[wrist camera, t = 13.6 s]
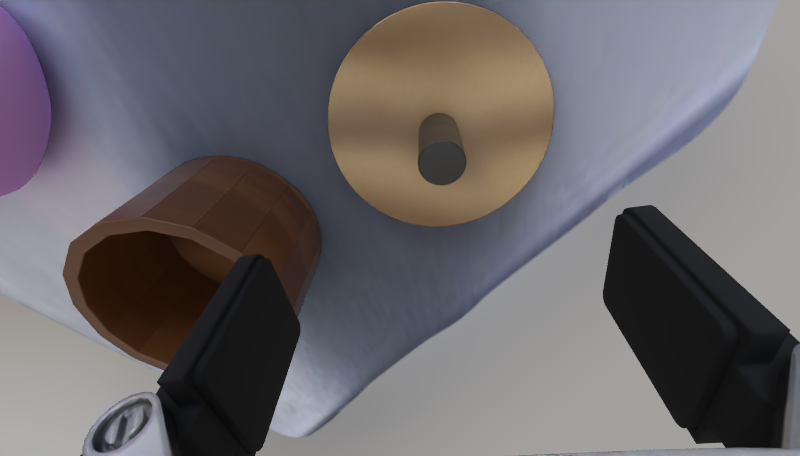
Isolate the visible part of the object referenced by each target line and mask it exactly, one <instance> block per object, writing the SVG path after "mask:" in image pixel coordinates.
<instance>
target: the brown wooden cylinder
mask: <svg viewBox="0 0 800 456" xmlns="http://www.w3.org/2000/svg"><path fill="white" fill-rule="evenodd" d="M320 252H321V233H320V229H319V225H318V222H317V220H316V217H315V215H314V213H313V211H312V209H311V208H310V206H309V204H308V203H307V202H306V200H305V199H304V198H303V196H302V195H301V194H300V193H299V192H298V191H297V190H296V189H295V188H294V187H293V186H292V185H291V184H290V183H288V182H287V181H286V180H285V179H283V178H282V177H280V176H279V175H277V174H276V173H275V172H273V171H271V170H269V169H267V168H265V167H263V166H261V165H258V164H256V163H253V162H251V161H247V160H244V159H240V158H234V157H228V156H209V157H202V158H198V159H194V160H191V161H189V162H184V163H182V164H181V165H179V166H178V167H176V168H175V169H174V170H172V171H171V172H169V173H168V174H166V175H165V176H164V177H162V178H161V179H159V180H158V181H156V182H155V183H153V184H152V185H151V186H149V187H148V188H146V189H145V190H143V191H142V192H141V193H139V194H138V195H136V196H135V197H133V198H132V199H131V200H129V201H128V202H126V203H125V204H123V205H122V206H120V207H119V208H118V209H116V210H115V211H113V212H112V213H110V214H109V215H108V216H106V217H105V218H103V219H102V220H100V221H99V222H97V223H96V224H95V225H93V226H92V227H91V228H89V229H88V230H87V231H85V232H84V233H83V234H81V235H80V236H79V237H77V238H76V239H75V240H73V241H72V242H71V243H70V245H69V249H68V253H67V257H66V261H65V265H64V269H63V277H64V280H65V283H66V285H67V288H68V291H69V294H70V297H71V299H72V302H73V305H75V307H76V308H77V310H78V311H79V312H80V313H81V314H82V315H83V317H84V318H85V319H86V320H87V321H88V322H89V323H90V325H91V326H92V327H93V328H94V329H95V330H96V331H97V333H98V334H100V336H102V337H103V338H105V339H106V340H108V341H109V342H111V343H112V344H114V345H115V346H116V347H118V348H119V349H121V350H122V351H124V352H125V353H127V354H128V355H130V356H131V357H134V358H135V359H138V360H140V361H142V362H145V363H147V364H150V365H152V366H155V367H157V368H160V369H162V370H165V369H166V367H167V366H168V364H169V363H170V361H171V360H172V358H173V357H174V355H175V354H176V352H177V351H178V349H179V348H180V346H181V344H182V343H183V341H184V340H185V338H186V337H187V335H188V334H189V332H190V331H191V329H192V328H193V326H194V325H195V323H196V322H197V320H198V319H199V317H200V315H201V314H202V312H203V311H204V309H205V308H206V306H207V305H208V303H209V302H210V300H211V299H212V297H213V296H214V294H215V293H216V291H217V290H218V288H219V286H220V285H221V283H222V282H223V280H224V279H225V277H226V276H227V274H228V273H229V271H230V270H231V268H232V267H233V265H234V264H235V262H236V261H237V259H238V258H239V257H241V256H246V255H254V254H262V255H263V256H264V257H265V258H269V259H270V260H271V262H272V264H273V266H274V268H275V270H276V273H277V275H278V277H279V279H280V281H281V283H282V286H283V288H284V290H285V292H286V294H287V296H288V299H289V301H290V303H291V305H292V307H293V309H294V312H295V314H296V316H297V318H298V315H299V313H300V310H301V307H302V305H303V302H304V300H305V297H306V295H307V292H308V289H309V287H310V284H311V282H312V279H313V276H314V274H315V271H316V269H317V266H318V261H319V256H320Z"/></svg>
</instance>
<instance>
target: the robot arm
mask: <svg viewBox="0 0 800 456" xmlns="http://www.w3.org/2000/svg"><path fill="white" fill-rule="evenodd" d="M603 299H604V303H605V305H606V307H607V309H608V310H609V312H610V313H611V315H612V317H613V319H614V320H615V322H616V324H617V325H618V327H619V329H620V330H621V332H622V334H623V335H624V337H625V339H626V340H627V342H628V344H629V345H630V347H631V349H632V350H633V352H634V354H635V355H636V357H637V359H638V360H639V362H640V364H641V365H642V367H643V368H644V370H645V372H646V374H647V375H648V377H649V379H650V380H651V382H652V384H653V385H654V387H655V389H656V390H657V392H658V394H659V395H660V397H661V398H662V400H663V402H664V404H665V405H666V407H667V408H668V410H669V412H670V414H671V415H672V417H673V419H674V420H675V422H676V423H677V424H678V425H679V426H680V427H682V428H687V429H688V431H689V432H690V434H691V436H692V437H693V439H694V441H695V442H696V444H701V443H721V442H722V443H723V445H724V446H725V447H726V448H706V449H666V450H636V451H615V452H614V451H613V452H590V453H569V454H544V455H520V456H800V342H799V341H797V340H796V339H795V338H794V337H793V336H792V335H791V334H790V333H789V332H790V329H788V328H787V327H786V326H785V325H784V324H783V323H782V322H781V321H780V320H779V319H777V318H776V317H775V316H774V315H773V314H772V313H771V312H770V311H769V310H768V309H766V308H765V307H764V306H763V305H762V304H761V303H760V302H759V301H758V300H757V299H755V298H754V297H753V296H752V295H751V294H750V293H749V292H748V291H747V290H746V289H745V288H743V287H742V286H741V285H740V284H739V283H738V282H737V281H736V280H735V279H733V278H732V277H731V276H730V275H729V274H728V273H727V272H726V271H725V270H724V269H723V268H721V267H720V266H719V265H718V264H717V263H716V262H715V261H714V260H713V259H712V258H710V257H709V256H708V255H707V254H706V253H705V252H704V251H703V250H701V248H700V247H698V246H697V245H696V244H695V243H694V242H693V241H692V240H691V239H690V238H688V237H687V236H686V235H685V234H684V233H683V232H682V231H681V230H680V229H678V228H677V227H676V226H675V225H674V224H673V223H672V222H671V221H670V220H669V219H668V218H667V217H665V216H664V215H663V214H662V213H661V212H660V211H659V210H658V209H657V208H656V207H654V206H652V205H647V206H640V207H631V208H626V209H624V211H623V213H622V214H621V215H618V216H617V217H616V220H615V224H614V230H613V236H612V242H611V248H610V254H609V259H608V265H607V272H606V277H605V283H604V289H603ZM300 330H301V329H300V323H299V320H298V318H297V316H296V314H295V312H294V309H293V307H292V305H291V303H290V301H289V299H288V296H287V294H286V292H285V290H284V288H283V286H282V283H281V281H280V279H279V277H278V275H277V273H276V270H275V268H274V266H273V264H272V262H271V260H270V259H269V258H265V257H264V256H263V255H262V254H254V255H246V256H241V257H239V258H238V259H237V261H236V262H235V264H234V265H233V267H232V268H231V270H230V271H229V273H228V274H227V276H226V277H225V279H224V280H223V282H222V283H221V285H220V286H219V288H218V290H217V291H216V293H215V294H214V296H213V297H212V299H211V300H210V302H209V303H208V305H207V306H206V308H205V309H204V311H203V312H202V314H201V315H200V317H199V319H198V320H197V322H196V323H195V325H194V326H193V328H192V329H191V331H190V332H189V334H188V335H187V337H186V338H185V340H184V341H183V343H182V344H181V346H180V348H179V349H178V351H177V352H176V354H175V355H174V357H173V358H172V360H171V361H170V363H169V364H168V366H167V367H166V369H165V370H164V372H163V373H162V375H161V377H160V378H159V380H158V381H157V383H158V384H159V385H160V386H161V387H160V388H159V390H158V392H157V393H156V394H153V393H152V392H141V393H137V394H134V395H131V396H129V397H127V398H125V399H123V400H121V401H119V402H118V403H116V404H115V405H114V406H112V407H111V408H109V409H108V410H107V411H106V412H105V413H104V414H103V415H102V416H101V417H99V419H98V420H97V421H96V422H95V424H94V425H93V426H92V427H91V429H90V430H89V432H88V434H87V436H86V438H85V440H84V445H83V453H82V455H81V456H255V454H256V451H259V450H260V449H261V448H262V447H263V444H264V442H265V438H266V436H267V433H268V430H269V427H270V424H271V421H272V418H273V414H274V411H275V408H276V405H277V402H278V399H279V396H280V393H281V390H282V387H283V384H284V381H285V378H286V375H287V372H288V369H289V366H290V363H291V360H292V357H293V354H294V351H295V348H296V345H297V342H298V339H299V336H300Z"/></svg>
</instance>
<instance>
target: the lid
mask: <svg viewBox="0 0 800 456" xmlns="http://www.w3.org/2000/svg"><path fill="white" fill-rule="evenodd" d="M553 120H554V97H553V90H552V84H551V81H550V78H549V74H548V71H547V68H546V66H545V64H544V62H543V60H542V58H541V56H540V54H539V53H538V51H537V50H536V48H535V47H534V45H533V44H532V42H531V41H530V40H529V39H528V38H527V37H526V36H525V35H524V34H523V32H522V31H521V30H520V29H519V28H517V27H516V26H515V25H513V24H512V23H511V22H510V21H508V20H507V19H506V18H504V17H502V16H500V15H498V14H496V13H494V12H493V11H491V10H488V9H485V8H482V7H479V6H477V5H473V4H468V3H462V2H455V1H437V2H428V3H422V4H418V5H415V6H411V7H408V8H405V9H403V10H400V11H398V12H396V13H394V14H391V15H390V16H388V17H387V18H385V19H383V20H382V21H380V22H379V23H377V24H376V25H374V26H373V27H372V28H371V29H370V30H369V31H367V32H366V33H365V34H364V35H363V36H362V37H361V38H360V39H359V40H358V41H357V43H356V44H355V45H354V46H353V47H352V48H351V50H350V51H349V53H348V54H347V56H346V57H345V59H344V60H343V62H342V64H341V66H340V68H339V70H338V72H337V74H336V77H335V80H334V83H333V86H332V89H331V93H330V99H329V104H328V133H329V139H330V143H331V148H332V151H333V154H334V157H335V160H336V162H337V164H338V166H339V168H340V170H341V172H342V174H343V175H344V177H345V178H346V180H347V181H348V183H349V184H350V185H351V187H352V188H353V189H354V190H355V191H356V192H357V194H358V195H360V196H361V197H362V198H363V199H364V200H365V201H366V202H367V203H369V204H370V205H371V206H373V207H374V208H376V209H377V210H379V211H380V212H382V213H384V214H386V215H388V216H390V217H392V218H395V219H397V220H400V221H403V222H407V223H410V224H415V225H422V226H436V227H438V226H451V225H457V224H462V223H466V222H469V221H473V220H476V219H478V218H481V217H483V216H485V215H487V214H489V213H491V212H493V211H495V210H497V209H498V208H500V207H501V206H503V205H504V204H505V203H507V202H508V201H510V200H511V199H512V198H513V197H514V196H515V195H516V194H518V193H519V192H520V191H521V189H522V188H523V187H524V186H525V185H526V184H527V183H528V182H529V180H530V179H531V177H532V176H533V175H534V173H535V172H536V170H537V169H538V167H539V165H540V163H541V161H542V159H543V157H544V155H545V152H546V150H547V147H548V145H549V141H550V137H551V133H552V129H553Z"/></svg>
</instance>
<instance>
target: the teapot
mask: <svg viewBox="0 0 800 456" xmlns="http://www.w3.org/2000/svg"><path fill="white" fill-rule="evenodd" d="M50 128H51V104H50V98H49V93H48V88H47V85H46V81H45V78H44V74H43V71H42V68H41V66H40V63H39V60H38V58H37V55H36V53H35V51H34V49H33V46H32V45H31V43H30V41H29V40H28V38H27V36H26V34H25V33H24V31H23V30H22V29H21V28H20V26H19V25H18V24H17V22H16V21H15V20H14V19H13V18H12V17H11V16H10V15H9V14H8V12H7V11H6V10H4V9H3V8H2V7H1V6H0V197H1V196H4V195H7V194H9V193H11V192H13V191H16V190H18V189H20V188H21V187H22V186H24V185H25V184H26V183H27V182H28V181H29V180H30V179H31V178H32V177H33V176H34V174H35V173H36V172H37V170H38V168H39V166H40V164H41V161H42V159H43V156H44V153H45V150H46V147H47V143H48V140H49V134H50Z"/></svg>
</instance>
